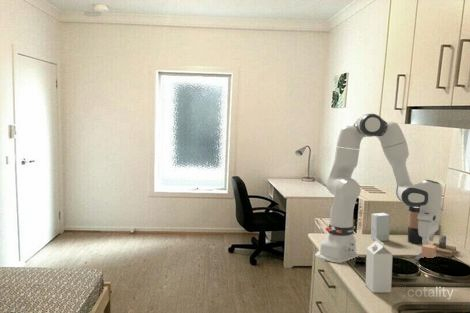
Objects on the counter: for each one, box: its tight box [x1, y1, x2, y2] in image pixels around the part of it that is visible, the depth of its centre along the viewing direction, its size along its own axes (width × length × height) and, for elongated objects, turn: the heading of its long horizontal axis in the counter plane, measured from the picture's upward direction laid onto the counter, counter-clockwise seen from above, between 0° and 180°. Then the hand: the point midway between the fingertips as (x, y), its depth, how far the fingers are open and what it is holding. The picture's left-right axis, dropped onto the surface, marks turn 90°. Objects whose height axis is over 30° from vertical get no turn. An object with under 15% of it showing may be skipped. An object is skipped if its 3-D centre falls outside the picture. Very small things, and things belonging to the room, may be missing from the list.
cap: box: [421, 243, 437, 258], centre depth 173 cm, size 5×5×6 cm
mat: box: [413, 252, 422, 261], centre depth 174 cm, size 11×10×1 cm
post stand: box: [432, 234, 457, 258], centre depth 185 cm, size 12×10×8 cm
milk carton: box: [365, 239, 393, 294], centre depth 140 cm, size 7×7×19 cm
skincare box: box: [370, 212, 391, 242], centre depth 204 cm, size 8×6×15 cm
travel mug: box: [407, 206, 423, 245], centre depth 199 cm, size 8×8×20 cm
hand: (428, 242), depth 173 cm, fingers open, 8 cm apart
